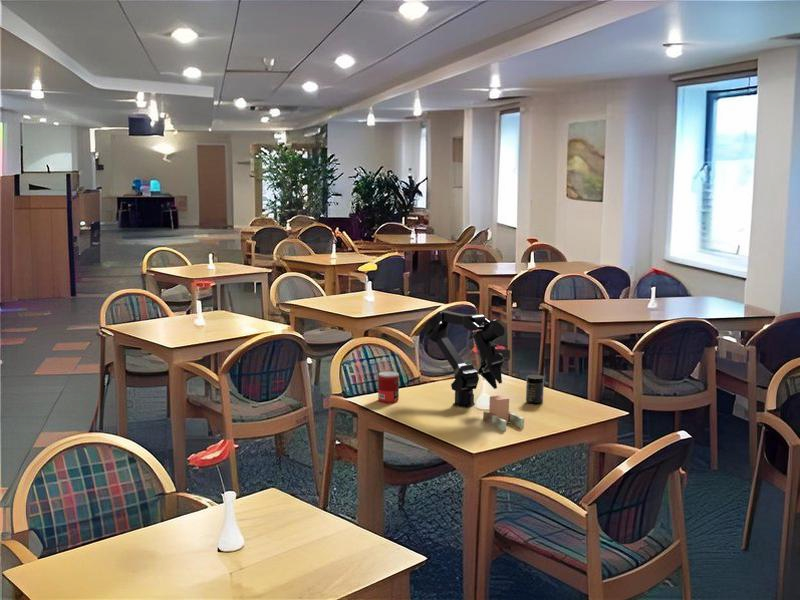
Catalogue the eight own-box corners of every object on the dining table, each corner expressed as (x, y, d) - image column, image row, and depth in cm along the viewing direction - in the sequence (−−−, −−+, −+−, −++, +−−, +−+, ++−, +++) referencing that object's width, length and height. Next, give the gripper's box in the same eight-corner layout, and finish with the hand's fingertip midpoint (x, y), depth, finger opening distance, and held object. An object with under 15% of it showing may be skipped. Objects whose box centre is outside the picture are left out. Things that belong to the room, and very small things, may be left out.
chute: (483, 420, 305) (483, 411, 304) (503, 418, 309) (503, 408, 308) (503, 431, 293) (503, 421, 293) (524, 427, 297) (524, 418, 297)
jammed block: (489, 420, 305) (489, 396, 303) (500, 419, 307) (501, 395, 306) (496, 424, 300) (497, 400, 299) (508, 422, 303) (509, 398, 301)
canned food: (398, 403, 326) (398, 376, 325) (377, 403, 326) (377, 375, 325) (398, 398, 334) (399, 371, 332) (378, 398, 334) (378, 370, 332)
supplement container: (541, 405, 325) (542, 379, 324) (524, 404, 328) (525, 378, 326) (544, 401, 332) (545, 375, 330) (527, 399, 334) (528, 374, 332)
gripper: (509, 333, 306) (524, 374, 301) (499, 347, 323) (513, 385, 319) (481, 342, 304) (495, 382, 299) (472, 354, 321) (485, 393, 317)
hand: (498, 386), depth 309 cm, fingers open, 9 cm apart
